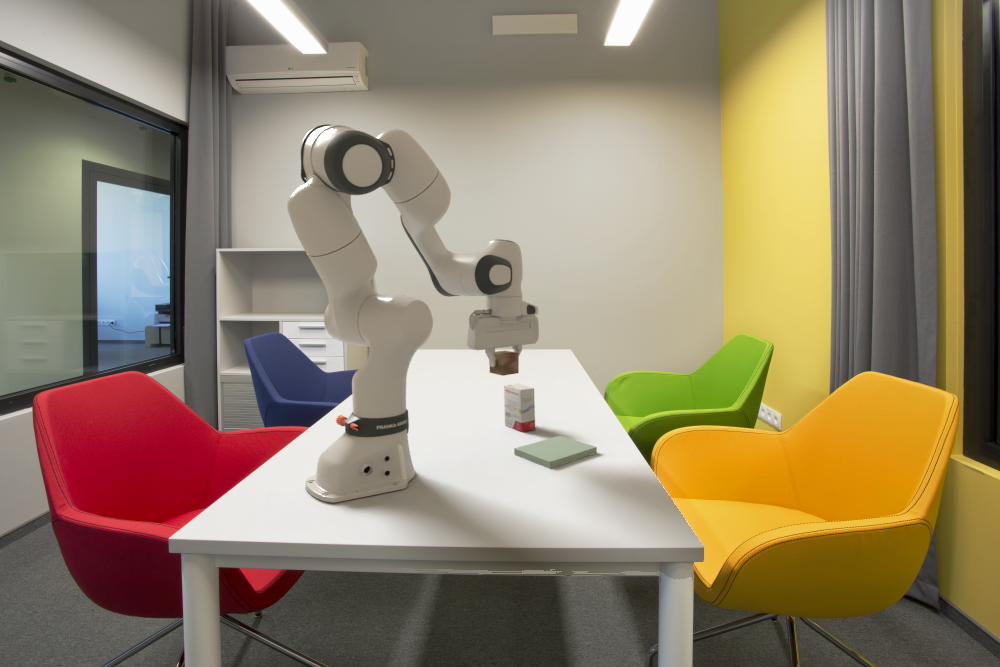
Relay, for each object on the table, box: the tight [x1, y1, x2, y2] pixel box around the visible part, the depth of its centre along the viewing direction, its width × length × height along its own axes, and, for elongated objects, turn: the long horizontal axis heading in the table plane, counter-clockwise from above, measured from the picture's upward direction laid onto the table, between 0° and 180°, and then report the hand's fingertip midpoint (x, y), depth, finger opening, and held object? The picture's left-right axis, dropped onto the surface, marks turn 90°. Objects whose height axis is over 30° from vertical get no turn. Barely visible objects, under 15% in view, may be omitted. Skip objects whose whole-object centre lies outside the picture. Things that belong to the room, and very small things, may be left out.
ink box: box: [503, 383, 536, 433], centre depth 151 cm, size 9×5×12 cm, turn 34°
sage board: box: [513, 435, 598, 469], centre depth 130 cm, size 16×12×2 cm
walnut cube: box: [489, 350, 520, 376], centre depth 132 cm, size 5×5×5 cm
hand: (504, 365), depth 132 cm, fingers closed on walnut cube, 5 cm apart
